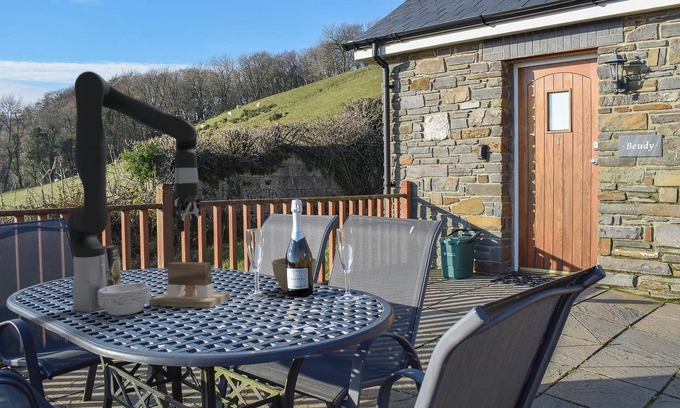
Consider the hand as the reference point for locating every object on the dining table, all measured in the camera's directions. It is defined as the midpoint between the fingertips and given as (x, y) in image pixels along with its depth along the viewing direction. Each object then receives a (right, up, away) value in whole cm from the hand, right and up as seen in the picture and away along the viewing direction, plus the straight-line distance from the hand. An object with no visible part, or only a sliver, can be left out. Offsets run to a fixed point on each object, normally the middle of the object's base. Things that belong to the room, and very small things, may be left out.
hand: (187, 230), depth 185 cm
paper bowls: (-16, -25, -12) cm, 32 cm away
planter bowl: (+34, -23, +18) cm, 45 cm away
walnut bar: (0, -18, +1) cm, 18 cm away
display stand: (+1, -24, +1) cm, 24 cm away
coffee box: (-37, -24, +26) cm, 51 cm away
